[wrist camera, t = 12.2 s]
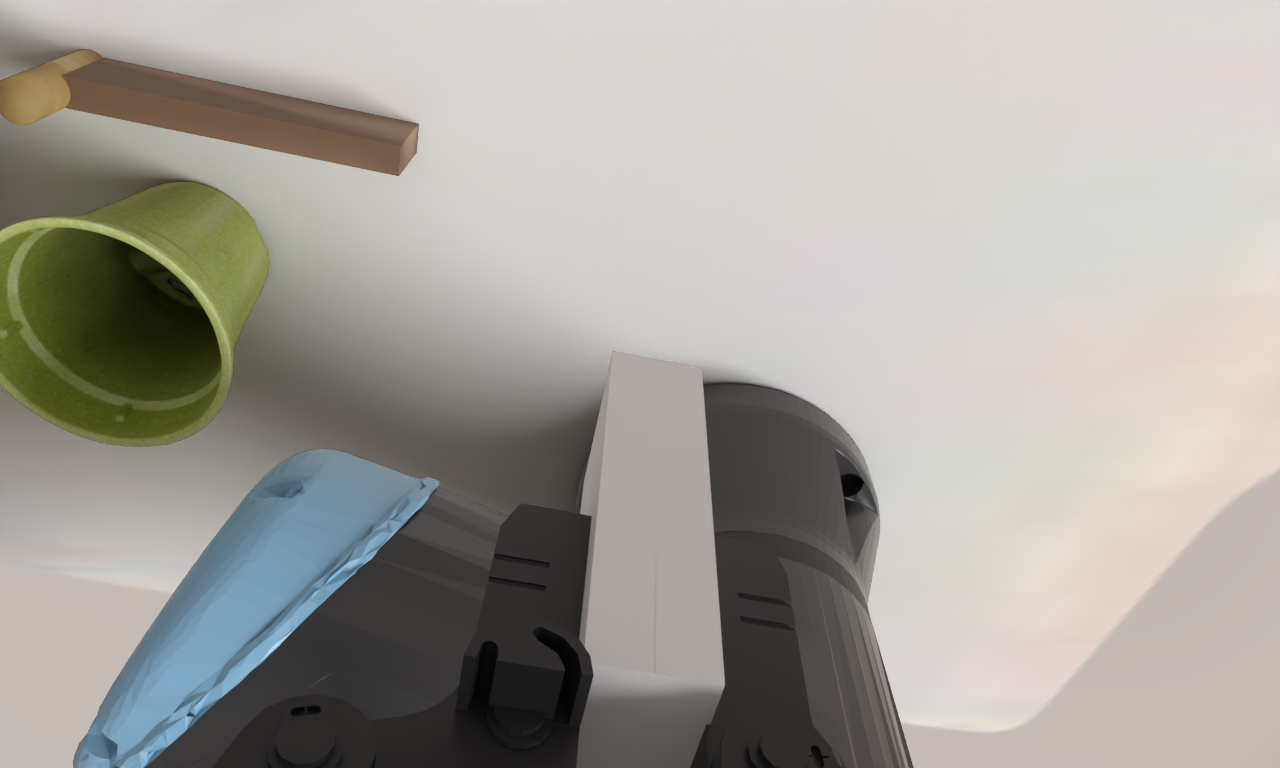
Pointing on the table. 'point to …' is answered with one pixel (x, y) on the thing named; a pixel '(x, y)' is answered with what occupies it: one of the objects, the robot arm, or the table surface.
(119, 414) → the plant pot
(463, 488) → the table surface
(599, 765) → the robot arm
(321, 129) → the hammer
